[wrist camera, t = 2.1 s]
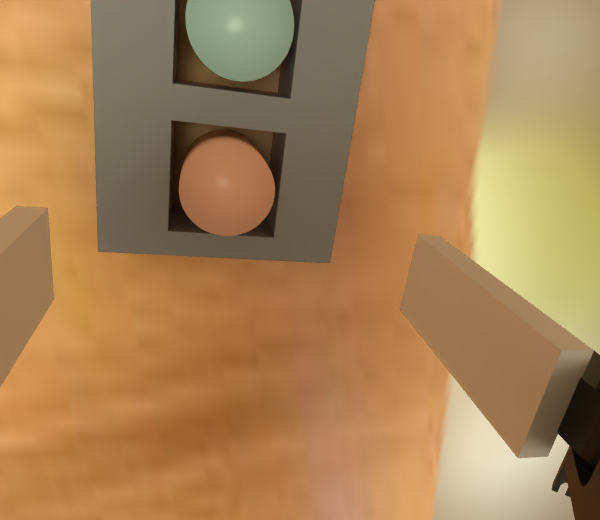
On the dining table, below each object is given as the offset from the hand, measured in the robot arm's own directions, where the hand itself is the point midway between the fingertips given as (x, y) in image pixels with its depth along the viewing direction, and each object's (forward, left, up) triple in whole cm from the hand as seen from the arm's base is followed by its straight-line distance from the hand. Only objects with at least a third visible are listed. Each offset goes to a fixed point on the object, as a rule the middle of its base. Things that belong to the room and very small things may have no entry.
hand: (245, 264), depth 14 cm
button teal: (0, +7, -12) cm, 14 cm away
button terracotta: (0, 0, -12) cm, 12 cm away
